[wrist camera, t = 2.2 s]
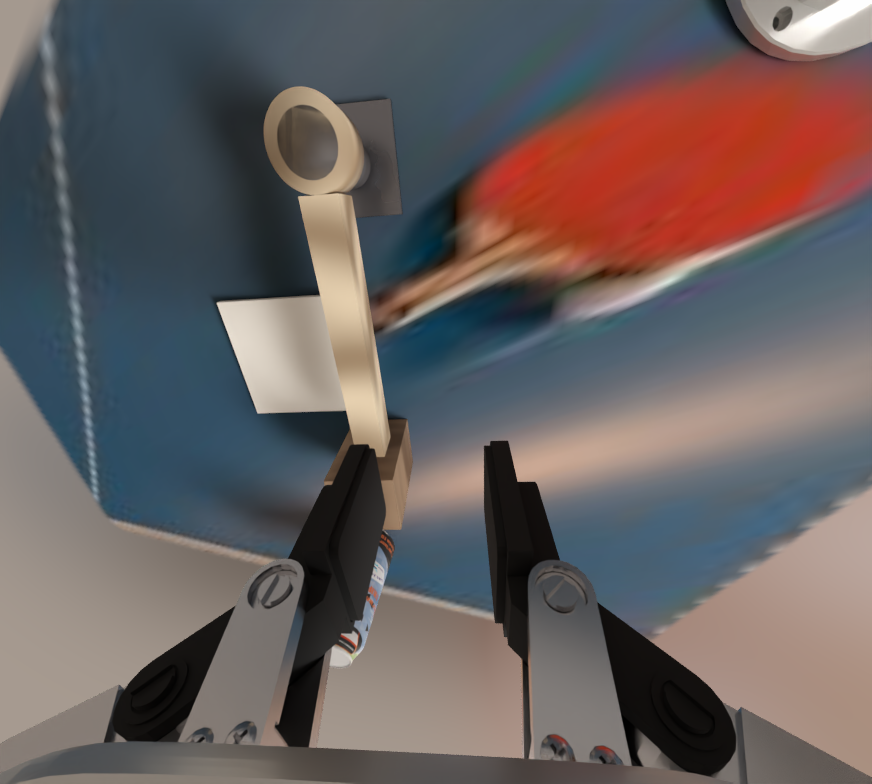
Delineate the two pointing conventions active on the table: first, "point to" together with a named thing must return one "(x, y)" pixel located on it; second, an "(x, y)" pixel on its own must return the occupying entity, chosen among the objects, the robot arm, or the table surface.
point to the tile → (284, 353)
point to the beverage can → (365, 608)
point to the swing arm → (333, 241)
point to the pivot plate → (376, 159)
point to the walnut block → (387, 471)
